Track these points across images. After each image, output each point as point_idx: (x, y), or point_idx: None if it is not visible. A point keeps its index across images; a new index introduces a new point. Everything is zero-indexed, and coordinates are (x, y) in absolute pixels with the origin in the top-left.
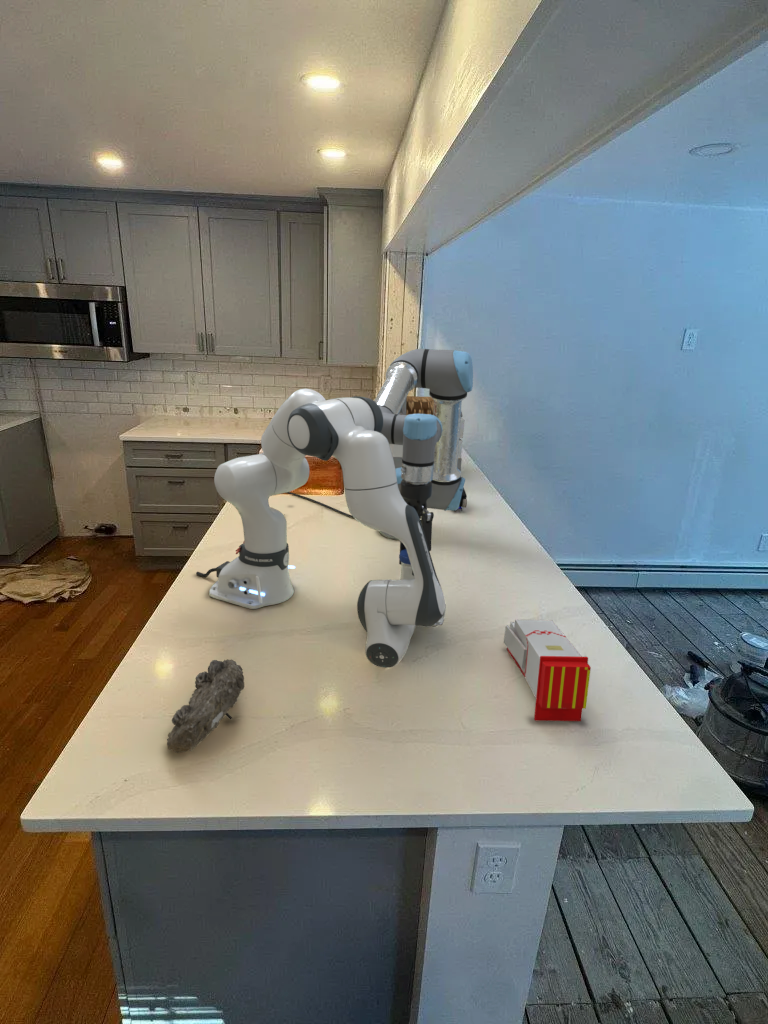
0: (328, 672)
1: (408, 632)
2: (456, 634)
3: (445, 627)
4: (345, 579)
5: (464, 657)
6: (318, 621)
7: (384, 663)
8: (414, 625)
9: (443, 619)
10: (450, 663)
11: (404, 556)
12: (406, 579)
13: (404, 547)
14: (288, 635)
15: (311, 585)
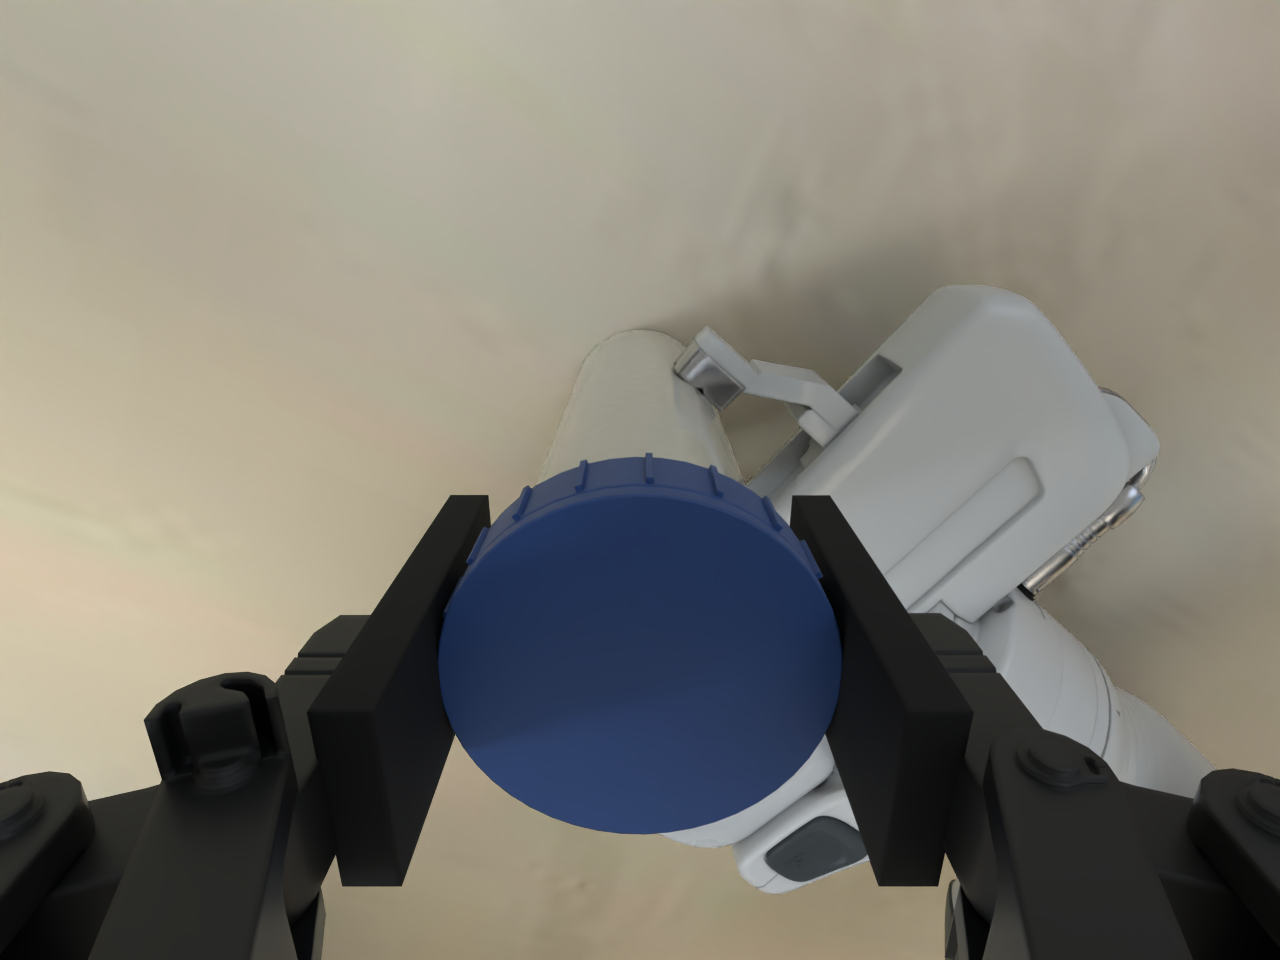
0: (911, 909)
1: (1196, 768)
2: (991, 202)
3: (879, 225)
4: (34, 551)
5: (1216, 311)
6: (510, 830)
7: None
8: (1085, 649)
9: (1134, 411)
10: (1202, 423)
11: (691, 812)
12: None
13: (431, 729)
14: (581, 954)
15: (99, 749)
